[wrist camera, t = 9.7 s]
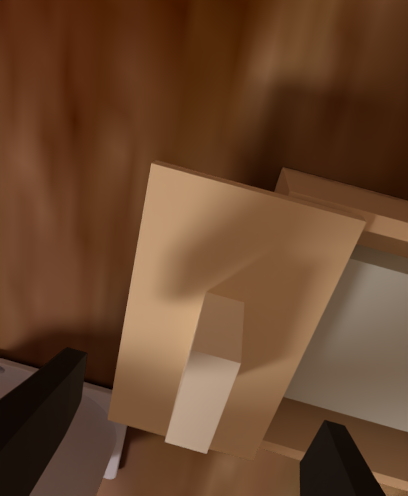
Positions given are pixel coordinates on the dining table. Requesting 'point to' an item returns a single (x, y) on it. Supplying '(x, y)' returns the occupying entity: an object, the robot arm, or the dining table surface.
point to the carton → (355, 339)
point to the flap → (222, 307)
